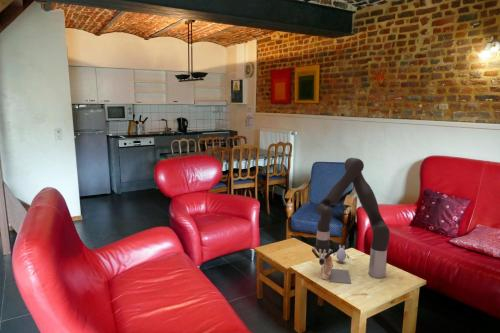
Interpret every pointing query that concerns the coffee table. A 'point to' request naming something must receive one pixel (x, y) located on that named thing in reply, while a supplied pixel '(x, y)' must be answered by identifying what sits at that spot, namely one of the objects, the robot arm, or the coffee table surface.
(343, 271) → the felt mat
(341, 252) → the toy figure
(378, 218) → the robot arm
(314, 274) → the coffee table surface
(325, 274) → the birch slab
